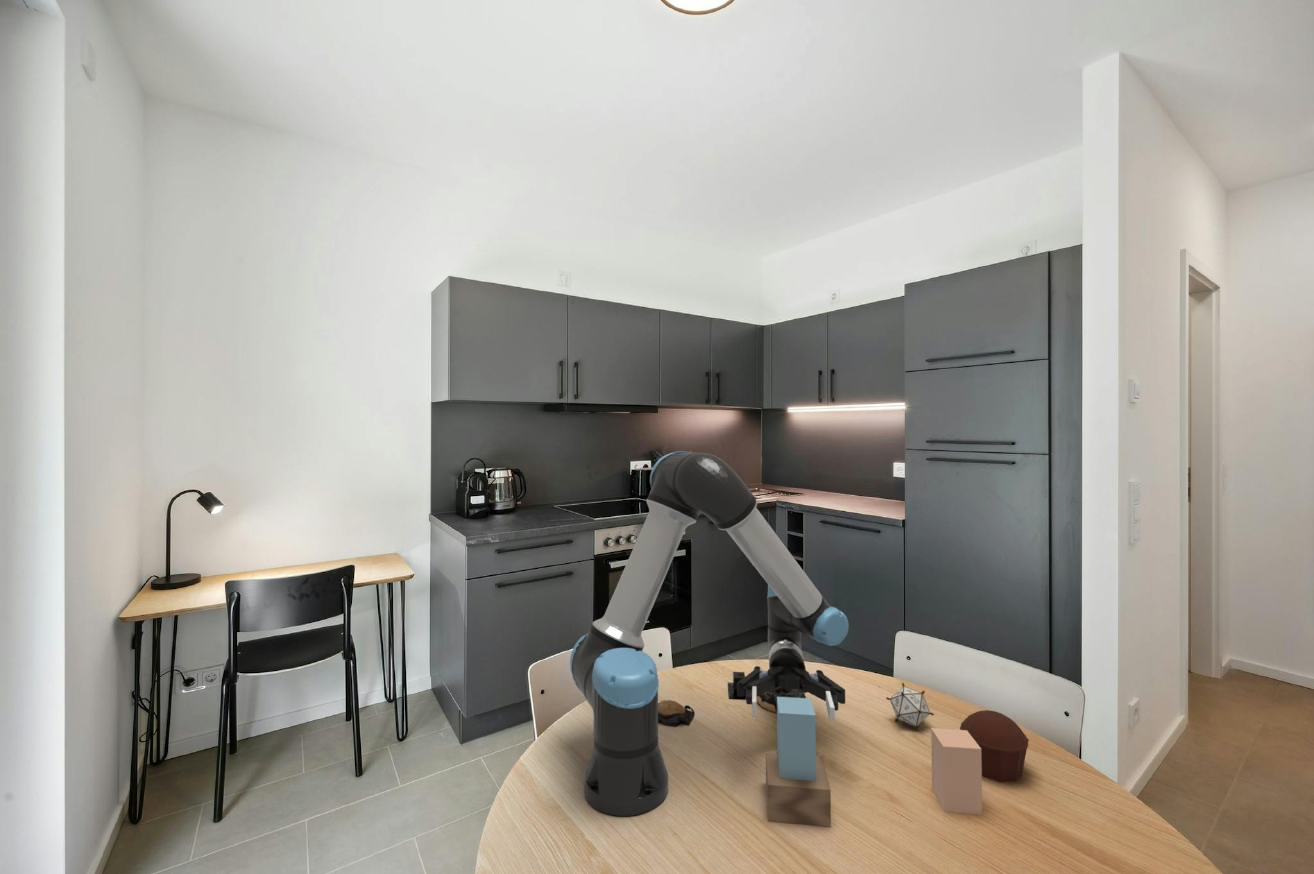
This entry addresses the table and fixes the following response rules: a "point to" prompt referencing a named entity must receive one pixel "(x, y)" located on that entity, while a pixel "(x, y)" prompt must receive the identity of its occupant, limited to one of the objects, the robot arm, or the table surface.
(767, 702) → the donut
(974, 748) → the clay brick
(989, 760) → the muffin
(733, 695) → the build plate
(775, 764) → the base block
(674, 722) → the brown and black lump
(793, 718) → the blue brick
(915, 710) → the game die
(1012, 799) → the table surface
